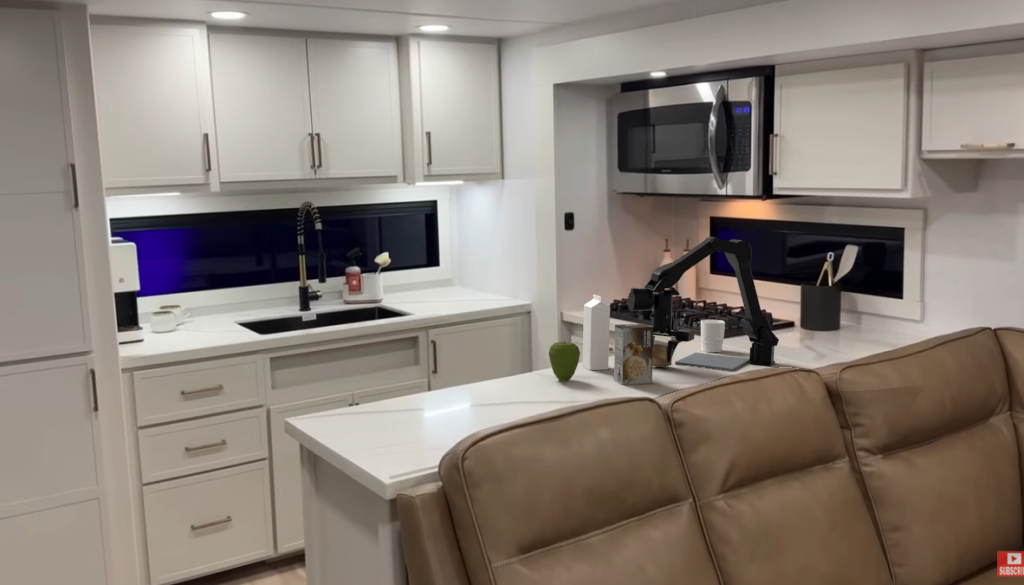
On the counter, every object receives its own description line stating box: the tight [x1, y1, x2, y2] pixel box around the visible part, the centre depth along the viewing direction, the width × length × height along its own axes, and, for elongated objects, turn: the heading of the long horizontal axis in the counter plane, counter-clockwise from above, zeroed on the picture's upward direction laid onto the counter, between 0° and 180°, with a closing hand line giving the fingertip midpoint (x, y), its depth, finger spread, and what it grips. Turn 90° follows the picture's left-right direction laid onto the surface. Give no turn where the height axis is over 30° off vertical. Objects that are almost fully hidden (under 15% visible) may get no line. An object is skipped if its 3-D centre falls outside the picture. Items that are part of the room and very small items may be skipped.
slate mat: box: [675, 352, 750, 372], centre depth 272 cm, size 18×18×1 cm
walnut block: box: [652, 343, 673, 368], centre depth 264 cm, size 5×5×6 cm
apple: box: [548, 339, 581, 382], centre depth 245 cm, size 9×8×12 cm
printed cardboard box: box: [613, 323, 654, 386], centre depth 244 cm, size 9×6×16 cm
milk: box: [582, 294, 611, 371], centre depth 261 cm, size 6×6×22 cm
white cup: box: [700, 319, 726, 353], centre depth 291 cm, size 8×8×10 cm
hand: (660, 361), depth 264 cm, fingers closed on walnut block, 5 cm apart
